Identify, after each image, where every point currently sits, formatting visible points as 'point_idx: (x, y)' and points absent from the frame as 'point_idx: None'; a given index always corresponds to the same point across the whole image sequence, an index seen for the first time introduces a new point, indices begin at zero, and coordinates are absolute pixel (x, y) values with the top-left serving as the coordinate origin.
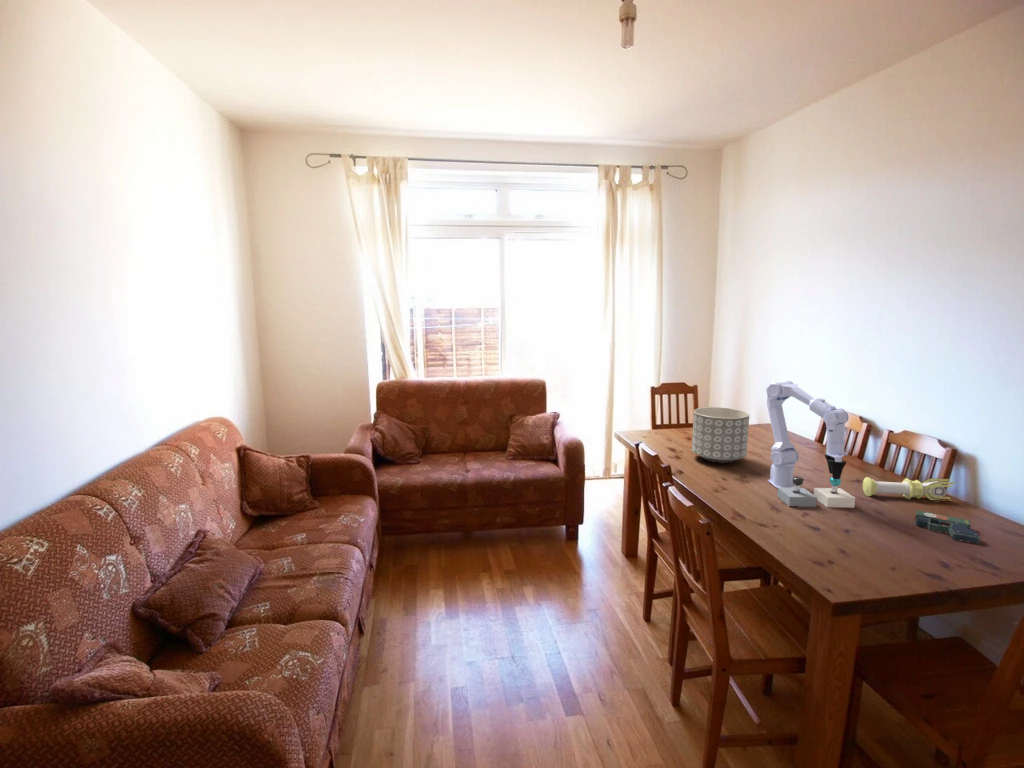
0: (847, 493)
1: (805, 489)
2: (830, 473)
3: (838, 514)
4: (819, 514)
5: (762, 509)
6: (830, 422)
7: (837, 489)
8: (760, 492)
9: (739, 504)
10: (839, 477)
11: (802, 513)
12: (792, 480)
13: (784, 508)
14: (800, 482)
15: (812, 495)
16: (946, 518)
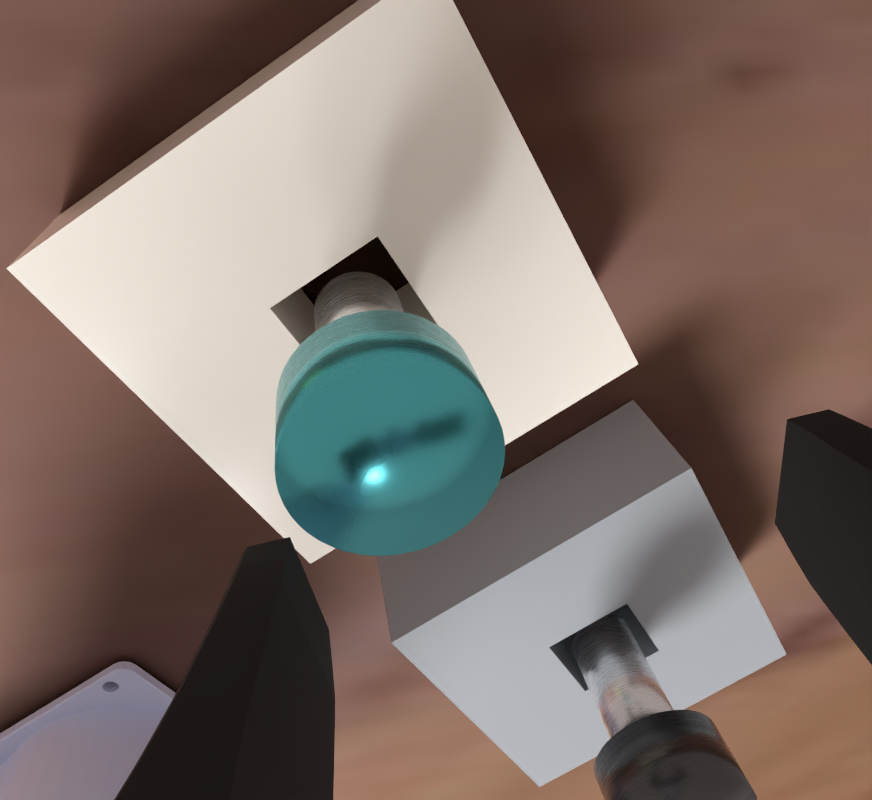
0: (252, 121)
1: (448, 615)
2: (326, 625)
3: (777, 162)
4: (840, 338)
5: (854, 679)
6: None
7: (377, 307)
8: (469, 794)
9: (802, 786)
10: (868, 442)
11: None
12: (93, 773)
13: (781, 589)
14: (727, 750)
15: (643, 517)
16: None
